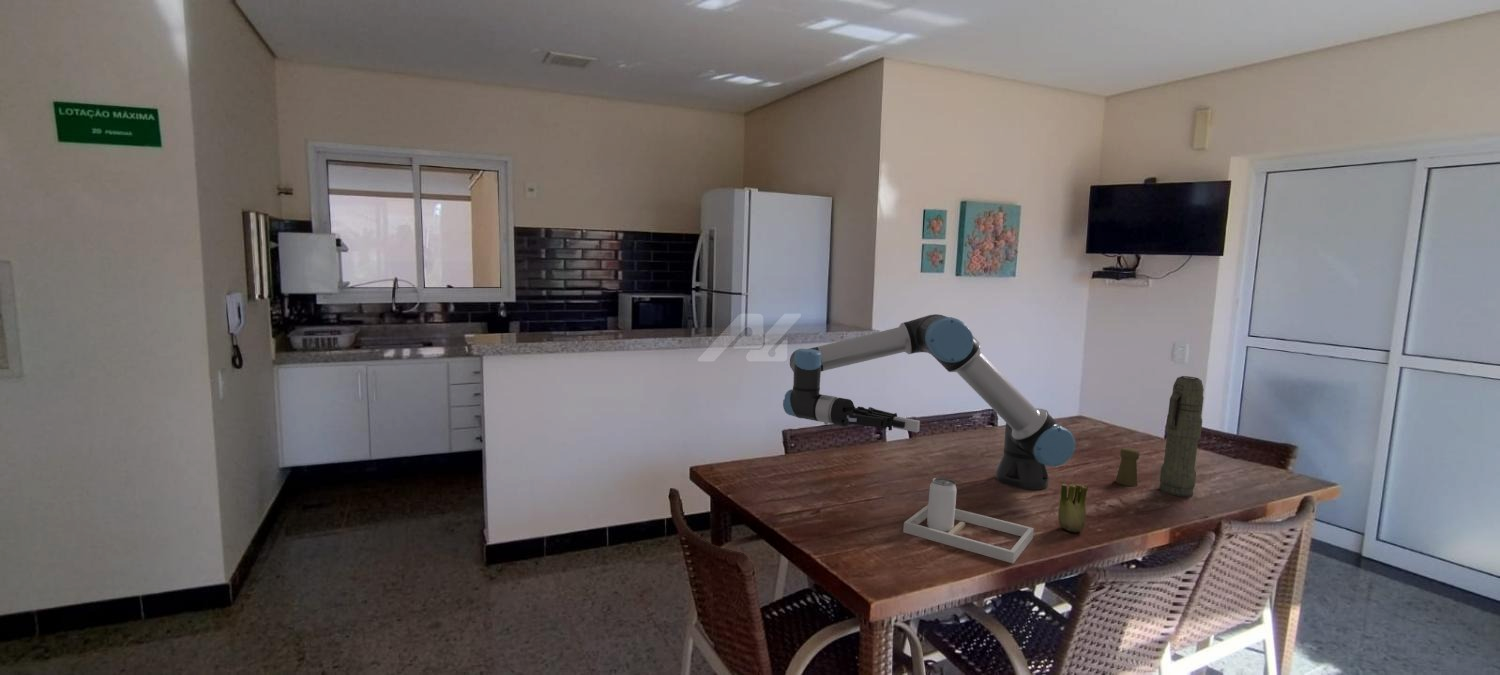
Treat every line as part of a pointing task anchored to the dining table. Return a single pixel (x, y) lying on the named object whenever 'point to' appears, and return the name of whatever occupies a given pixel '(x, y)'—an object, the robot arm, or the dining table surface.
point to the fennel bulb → (1072, 508)
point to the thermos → (1182, 437)
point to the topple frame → (969, 544)
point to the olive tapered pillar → (1128, 467)
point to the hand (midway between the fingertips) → (918, 426)
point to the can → (941, 504)
